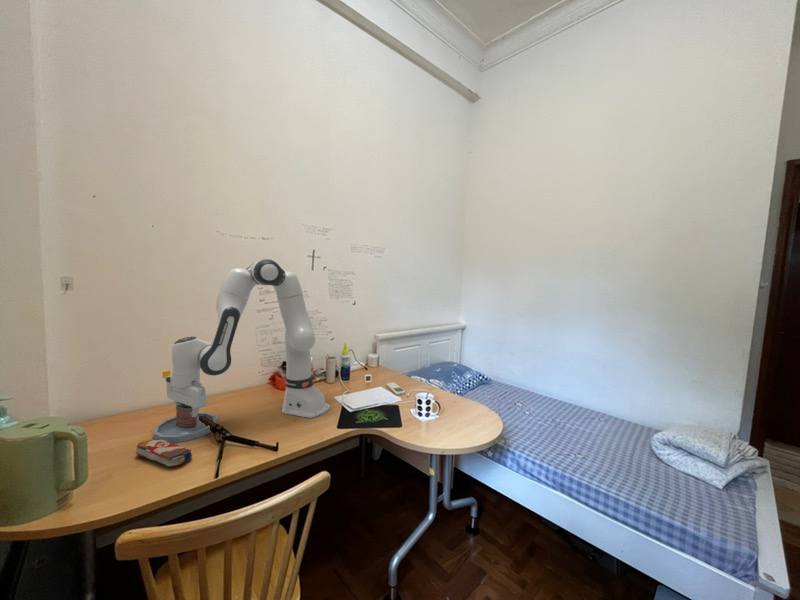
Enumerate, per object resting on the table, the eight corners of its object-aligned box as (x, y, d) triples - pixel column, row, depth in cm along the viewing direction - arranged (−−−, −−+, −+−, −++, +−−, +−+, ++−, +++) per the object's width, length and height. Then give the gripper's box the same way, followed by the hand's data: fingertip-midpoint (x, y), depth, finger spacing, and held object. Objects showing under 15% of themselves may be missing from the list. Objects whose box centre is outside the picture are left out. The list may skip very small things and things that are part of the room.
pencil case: (171, 441, 111) (171, 428, 111) (196, 461, 100) (195, 447, 100) (132, 455, 102) (132, 441, 102) (154, 479, 91) (154, 463, 91)
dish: (227, 424, 125) (227, 419, 124) (173, 448, 107) (173, 442, 106) (197, 413, 133) (197, 408, 133) (142, 433, 115) (142, 428, 115)
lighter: (199, 423, 121) (199, 399, 120) (192, 428, 118) (193, 403, 117) (180, 421, 122) (180, 397, 121) (173, 425, 119) (173, 400, 118)
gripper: (211, 381, 117) (211, 416, 118) (179, 372, 126) (180, 405, 127) (194, 386, 111) (194, 423, 112) (162, 376, 120) (163, 410, 121)
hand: (186, 413), depth 120 cm, fingers open, 8 cm apart
